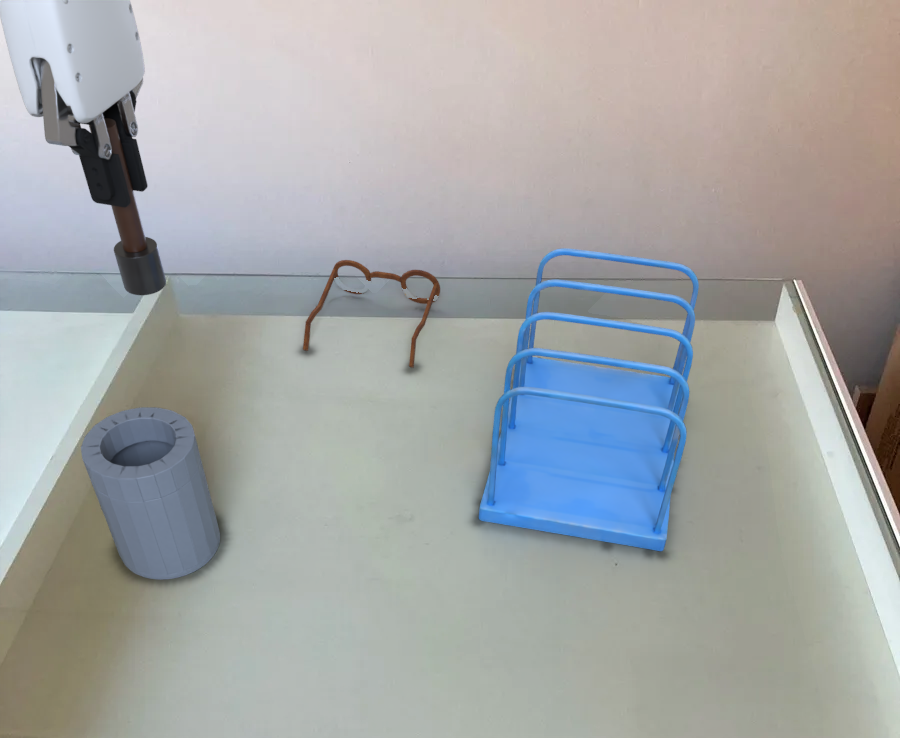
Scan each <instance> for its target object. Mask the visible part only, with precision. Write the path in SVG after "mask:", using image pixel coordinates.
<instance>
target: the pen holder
mask: <svg viewBox="0 0 900 738" xmlns="http://www.w3.org/2000/svg"><path fill="white" fill-rule="evenodd" d="M80 453H81V459H82V462H83V465H84V466H85V470H86V472H87V475H88V478H89V480H90V483H91V486H92V488H93V490H94V493H95V496H96V498H97V500H98V503H99V506H100V508H101V511H102V513H103V517H104V519H105V521H106V524H107V527H108V529H109V532H110V534H111V537H112V539H113V543H114V545H115V548H116V550H117V552H118V555H119V557H120V559H121V561H122V563H123V564H124V566H125V567H126V568H127V569H128V570H130V572H132V573H133V574H135V575H138V576H140V577H142V578H145V579H151V580H172V579H178V578H182V577H185V576H187V575H190V574H192V573H194V572H196V571H199V570H200V569H201V568H203V567H204V566H205V565H207V564H208V563H209V562H210V561H211V559H213V557H214V556H215V554H216V553H217V551H218V550H219V546H220V543H221V532H220V529H219V525H218V520H217V515H216V513H215V509H214V506H213V505H214V504H213V501H212V497H211V493H210V490H209V486H208V485H209V484H208V481H207V477H206V472H205V469H204V466H203V461H202V458H201V453H200V450H199V445H198V441H197V437H196V434H195V430H194V426H193V425H192V424H191V422H190V421H189V420H188V419H187V418H186V417H185V416H183V415H182V414H180V413H178V412H177V411H174V410H171V409H166V408H162V407H155V406H154V407H153V406H151V407H148V406H147V407H142V406H141V407H135V408H129V409H124V410H121V411H119V412H115V413H113V414H111V415H108V416H106V417H105V418H103V419H102V420H100V421H99V422H97V423H96V424H94V425H93V426H92V427H91V429H90V430H89V431H88V432H87V433H86V434H85V436H84V438H83V441H82V443H81V446H80Z"/></svg>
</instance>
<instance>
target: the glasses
mask: <svg viewBox="0 0 900 738" xmlns="http://www.w3.org/2000/svg"><path fill="white" fill-rule="evenodd" d="M342 267H352V268H356V269H358V270H359V271H360V272H361V273H363V275H364V277H365V281H366V280H368V281H371V282H372V278H379V279H384V280H385V279H386V280H391V281H396V282H399V283H400V287H401V289H402V288H403V289H406V288H407V289H408V286H407V280H408V279H409V278H411V277H416V276H417V277H423V278H425V279H427V280H429V281H430V282H431V283H432V285H433V286H432V290H431V292H430V294H429V297H419V298H417V299H412V298H408V300H409V301H411V302H414V303H416V304H421V305H426V306H425V308H424V312H423V315H422V317H421V320H420V322H419V323H418V324H417V326H416V328H415V330H414V332H413V334H412V336H411V340H410V341H411V342H410V353H409V363H408V366H409V367H410V368H411V369H412V368H413V369H414V367H415V358H416V347H417V340H418V337H419V336H420V333H421V331H422V330H423V329H424V327H425V325H426V322H427V320H428V316H429V314H430V311H431V308H432V305H433V303H435V302H436V301H433V299H434V296H435V295H437V296H439V297H440V293H441V285H440V281H438V279H437V277H436V276H435V275H433V274H432V273H430V272H428V271H426V270H421V269H411V270H410V269H409V270H408V271H405V272H404V273H403V274H401V276H400V275H398V274H396V273H394V272H393V273H392V272H386V271H379V270H378V271H372V272H370V270H369V269H368V268H367V267H366V266H365V265H364V264H362V263H360V262H358V261H355V260H351V259H341V260H338V261H337V262H336V263H335V264H334V266H333V268H332V270H331V273H330V275H329V277H328V280H327V282H326V284H325V287H324V289H323V291H322V293H321V296H320V297H319V298H320V299H319V301H318V303H317V305H315V307H314V308H313V310H311V312H310V313H309V315H308V317H307V319H306V320H305V326H304V333H303V334H304V336H303V344H302V350H303V351H305V352H308V351H309V345H310V337H311V327H312V323H313V321H314V320H315V318H316V316H317V315H318V314H319V313H320V312H321V311H322V309H323V308H324V304H325V302H326V300H327V298H328V295H329V292H330V290H331V287H332V285H333V283H334V282H335V281H334V278H336V277H339V269H340V268H342ZM339 278H340V277H339ZM343 291H344V292H346V293H349V294H353V295H362V293H359V292H358V293H356V292H351V291H347V290H343ZM427 298H429V300H427Z"/></svg>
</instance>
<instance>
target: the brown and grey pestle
mask: <svg viewBox="0 0 900 738" xmlns="http://www.w3.org/2000/svg"><path fill="white" fill-rule="evenodd" d="M104 120H105V124H106V128H107V132H108V136H109V140H110V143H111V147H112V153H113V154H119V158H120V161H121V165H122V168H123V172H124V176H125V180H126V184H127V188H128V191H129V195H130V200H131V203H130V204H129V205H128V206H127V207H119V206H112V205H110V207H111V210H112V214H113V216H114V220H115V221H114V222H115V223H116V228H117V231H118V235H119V238H120V240H119V241H118V242H117V243H115V245H114V247H113V253H114V256H115V260H116V264H117V267H118V269H119V274H120V277H121V281H122V285H123V288H124V290H125V291H126V292H127V293H129V294H131V295H135V296H149V295H153V294H156V293H158V292H160V291H162V290H163V289H164V288H165V287H166V285H167V279H166V275H165V271H164V266H163V263H162V258H161V255H160V250H159V246H158V243H157V242H156V240H155V239H154V238H151V237H148V236H146V234H145V230H144V227H143V223H142V218H141V215H140V210H139V207H138V204H137V199H136V196H135V191H134V190H133V187H132V183H131V180H130V176H129V172H128V168H127V164H126V160H125V156H124V152H123V148H122V145H121V141H120V137H119V133H118V129H117V125H116V122H115V121H114V120H113V119H108V118H104ZM88 127H89V132H90V133H92V131H91V128H90V125H88Z"/></svg>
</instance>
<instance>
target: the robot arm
mask: <svg viewBox="0 0 900 738" xmlns="http://www.w3.org/2000/svg"><path fill="white" fill-rule="evenodd" d="M0 22H1V26H2V31H3V35H4V39H5V43H6V47H7V51H8V54H9V59H10V62H11V65H12V69H13V73H14V76H15V79H16V82H17V86H18V90H19V93H20V95H21V99H22V101H23V104H24V106H25V109H26V111H27V113H28V114H29V115H30V116H31V117H35V118H43V130H44V131H43V132H44V139H45V142H46V143H47V144H49V145H56V146H62V147H69V148H70V149H71V152H72V153H73V155H75V156H78V157H79V160H80V163H81V167H82V171H83V174H84V177H85V181H86V184H87V187H88V191H89V194H90V198H91V200H92V201H93V202H94V203H95V204H100V205H108V206H111V205H112V206H119V207H127V206H128V205H129V204H130V203H131V200H130V195H129V191H128V188H127V184H126V180H125V176H124V172H123V168H122V165H121V161H120V158H119V154H113V153H112V147H111V143H110V140H109V136H108V132H107V128H106V124H105V120H104V118H108V119H113V120H114V121H115V122H116V125H117V129H118V133H119V137H120V141H121V145H122V148H123V152H124V156H125V160H126V164H127V168H128V172H129V176H130V180H131V183H132V187H133V191H134V192H144V191H146V189H148V186H149V185H148V181H147V177H146V173H145V169H144V164H143V161H142V157H141V152H140V149H139V144H138V140H137V138H136V137H137V136H138V133H139V126H138V122H137V118H136V113H135V112H136V107H137V106H136V105H137V98H138V95H139V93H140V91H141V89H142V86H143V84H144V76H145V72H146V71H145V68H146V67H145V59H144V54H143V47H142V42H141V38H140V33H139V29H138V25H137V21H136V17H135V13H134V10H133V6H132V2H131V0H0ZM81 125H88V126H89V125H90V128H91V131H92V133H91V131H90V130H88V129H86V128H85V127H82V126H81ZM90 128H89V129H90Z"/></svg>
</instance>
